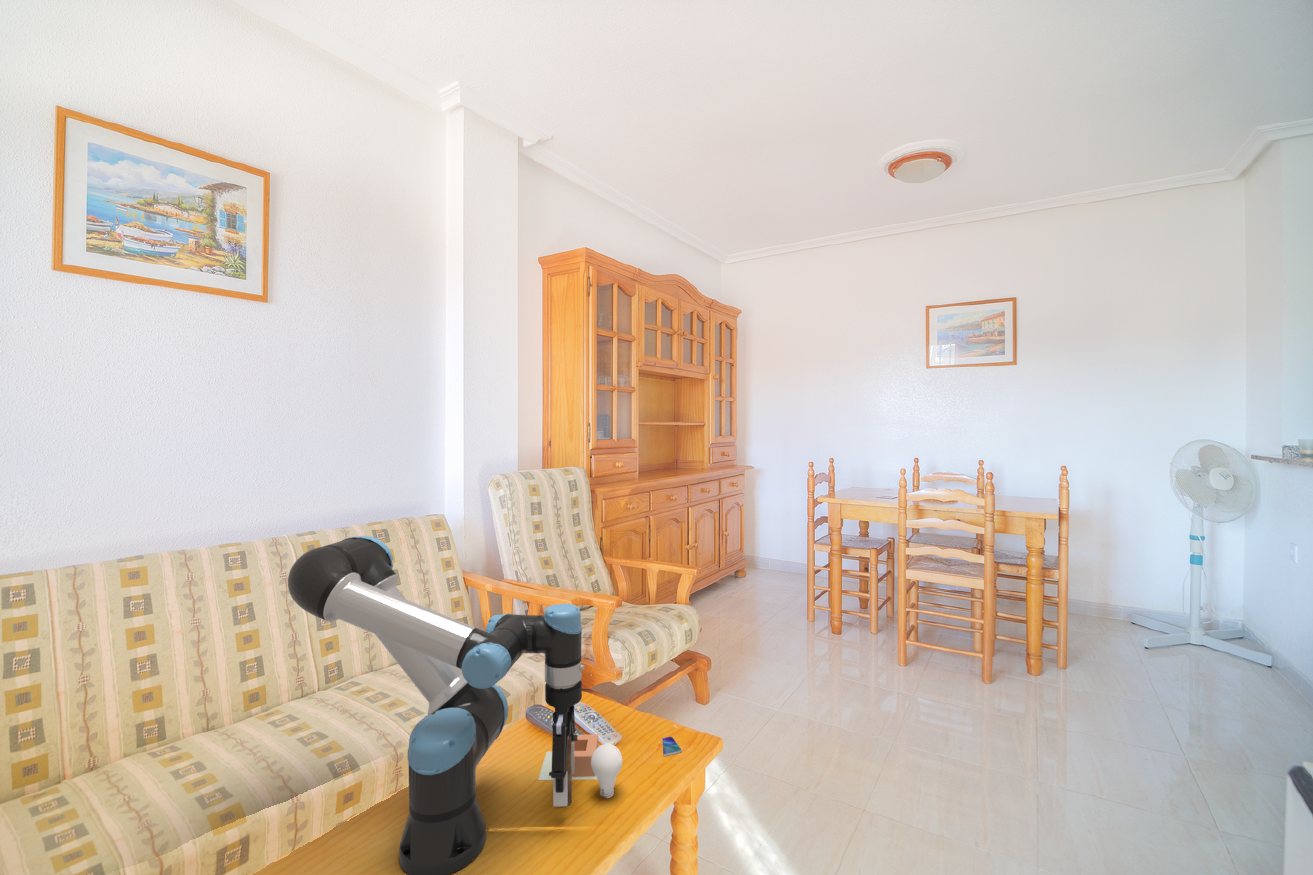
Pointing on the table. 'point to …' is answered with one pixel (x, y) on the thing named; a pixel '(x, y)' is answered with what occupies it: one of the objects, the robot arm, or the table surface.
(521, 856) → the table surface
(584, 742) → the terracotta hollow block
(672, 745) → the smartphone
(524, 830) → the table surface
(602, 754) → the light bulb
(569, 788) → the dark brown rod
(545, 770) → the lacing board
